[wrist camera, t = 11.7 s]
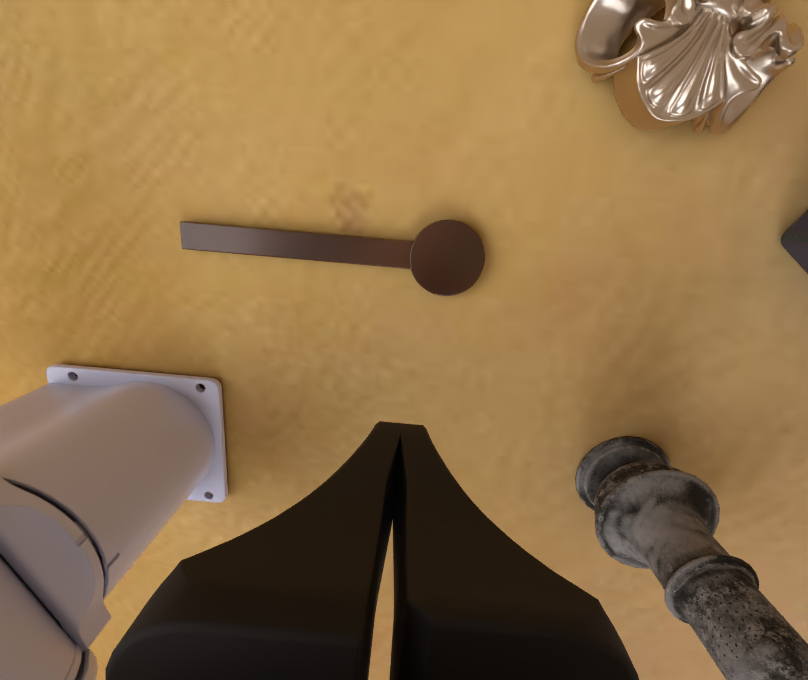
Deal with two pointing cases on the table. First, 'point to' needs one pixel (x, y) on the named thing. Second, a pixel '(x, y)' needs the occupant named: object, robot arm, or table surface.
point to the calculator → (798, 241)
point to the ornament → (686, 57)
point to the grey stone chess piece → (687, 558)
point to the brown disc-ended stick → (358, 250)
